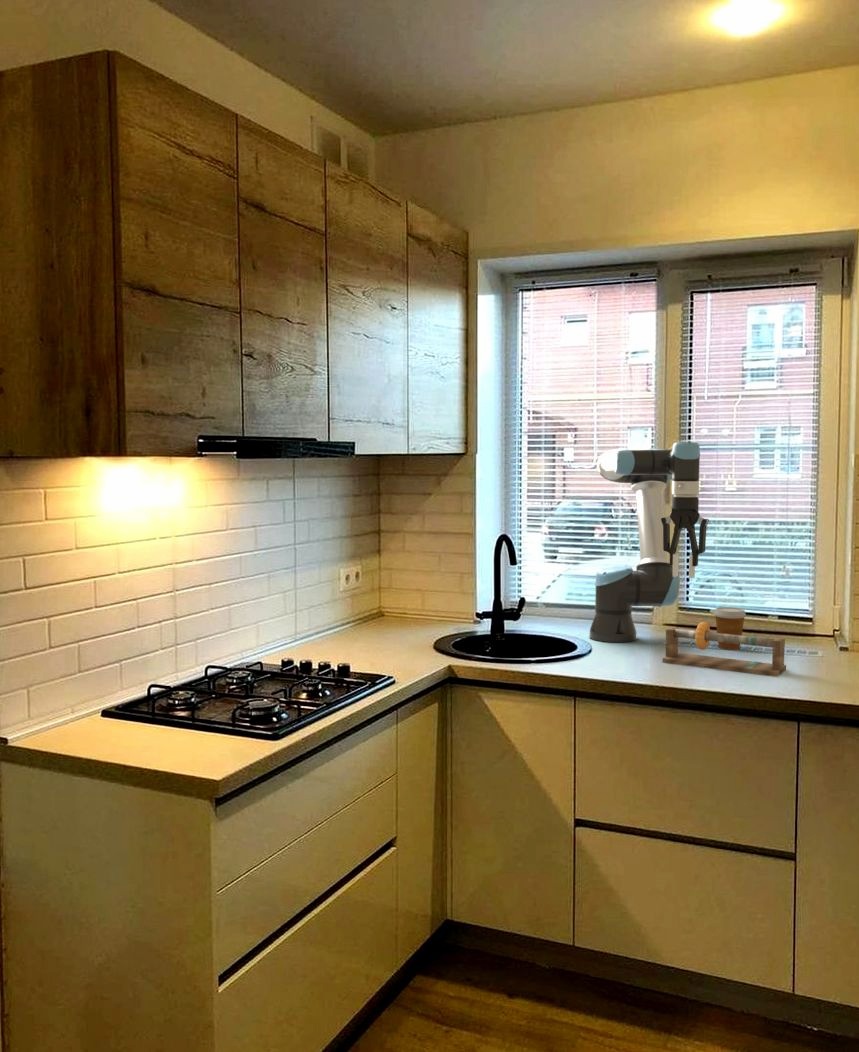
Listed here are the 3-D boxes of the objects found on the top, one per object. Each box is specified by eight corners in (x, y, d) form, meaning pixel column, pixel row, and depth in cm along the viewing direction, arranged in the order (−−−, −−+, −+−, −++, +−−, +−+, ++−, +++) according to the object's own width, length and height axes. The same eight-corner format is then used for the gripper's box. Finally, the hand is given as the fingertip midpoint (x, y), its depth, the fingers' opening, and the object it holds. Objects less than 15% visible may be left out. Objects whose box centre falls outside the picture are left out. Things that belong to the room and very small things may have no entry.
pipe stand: (662, 662, 271) (663, 630, 271) (674, 656, 280) (674, 625, 279) (777, 676, 254) (778, 642, 253) (786, 669, 262) (787, 636, 261)
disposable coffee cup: (710, 648, 290) (711, 610, 290) (716, 643, 299) (717, 606, 298) (742, 651, 286) (743, 612, 285) (747, 646, 294) (748, 608, 294)
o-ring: (693, 651, 267) (694, 623, 267) (702, 646, 274) (702, 619, 273) (702, 652, 266) (703, 624, 265) (711, 647, 272) (711, 620, 272)
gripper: (651, 495, 271) (650, 576, 273) (711, 497, 262) (709, 580, 264) (660, 494, 278) (659, 573, 279) (719, 496, 268) (717, 577, 270)
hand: (683, 576), depth 272 cm, fingers open, 4 cm apart
